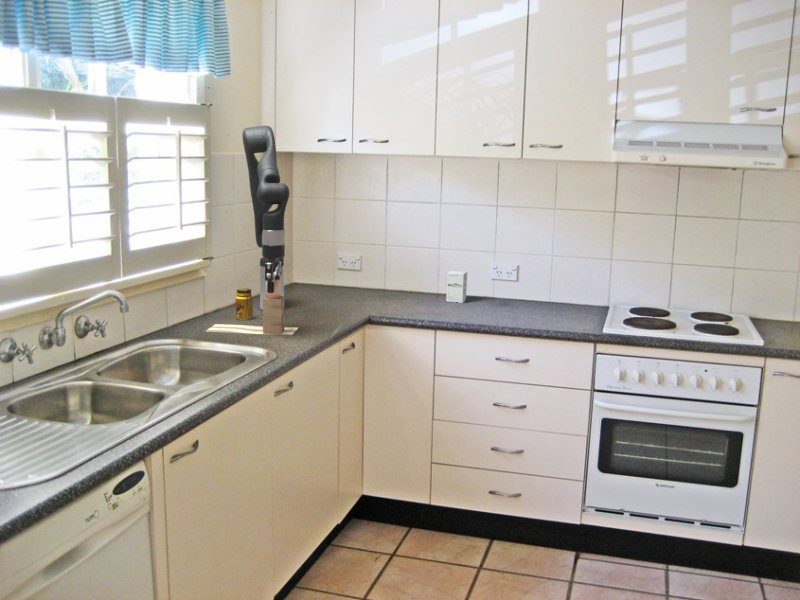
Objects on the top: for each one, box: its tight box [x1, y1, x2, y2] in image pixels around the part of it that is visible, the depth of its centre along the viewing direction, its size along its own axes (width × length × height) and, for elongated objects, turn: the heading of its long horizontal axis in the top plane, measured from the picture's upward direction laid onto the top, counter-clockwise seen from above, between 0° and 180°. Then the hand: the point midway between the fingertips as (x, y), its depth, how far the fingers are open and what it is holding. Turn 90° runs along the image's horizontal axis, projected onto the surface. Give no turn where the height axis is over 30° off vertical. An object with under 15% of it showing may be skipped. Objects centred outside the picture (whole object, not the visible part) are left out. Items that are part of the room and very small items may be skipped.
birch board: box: [205, 323, 299, 336], centre depth 292 cm, size 12×30×1 cm, turn 85°
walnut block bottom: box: [262, 313, 285, 335], centre depth 288 cm, size 6×6×6 cm
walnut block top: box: [262, 295, 285, 317], centre depth 287 cm, size 6×6×6 cm
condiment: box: [235, 288, 254, 322], centre depth 308 cm, size 7×8×12 cm
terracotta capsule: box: [266, 279, 281, 299], centre depth 286 cm, size 5×5×6 cm
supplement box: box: [445, 270, 468, 304], centre depth 357 cm, size 7×7×13 cm
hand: (273, 290), depth 286 cm, fingers open, 8 cm apart
